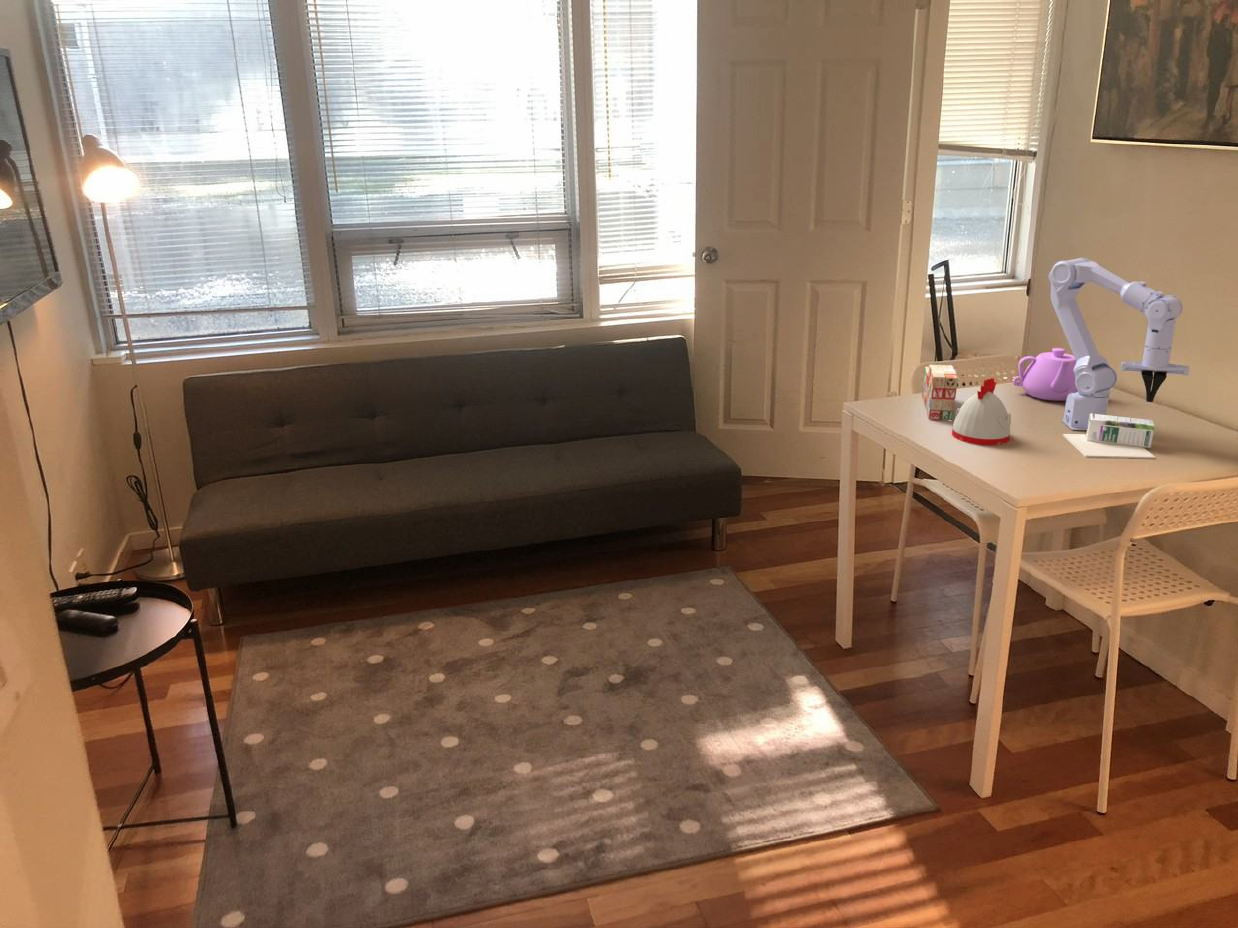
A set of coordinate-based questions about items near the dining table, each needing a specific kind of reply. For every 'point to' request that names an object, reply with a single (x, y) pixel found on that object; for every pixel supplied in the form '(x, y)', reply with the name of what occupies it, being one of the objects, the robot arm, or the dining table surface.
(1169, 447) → the dining table surface
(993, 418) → the white chicken dome
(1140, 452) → the mat
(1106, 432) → the syrup box
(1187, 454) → the dining table surface
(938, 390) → the stack of blocks
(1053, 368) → the teapot
